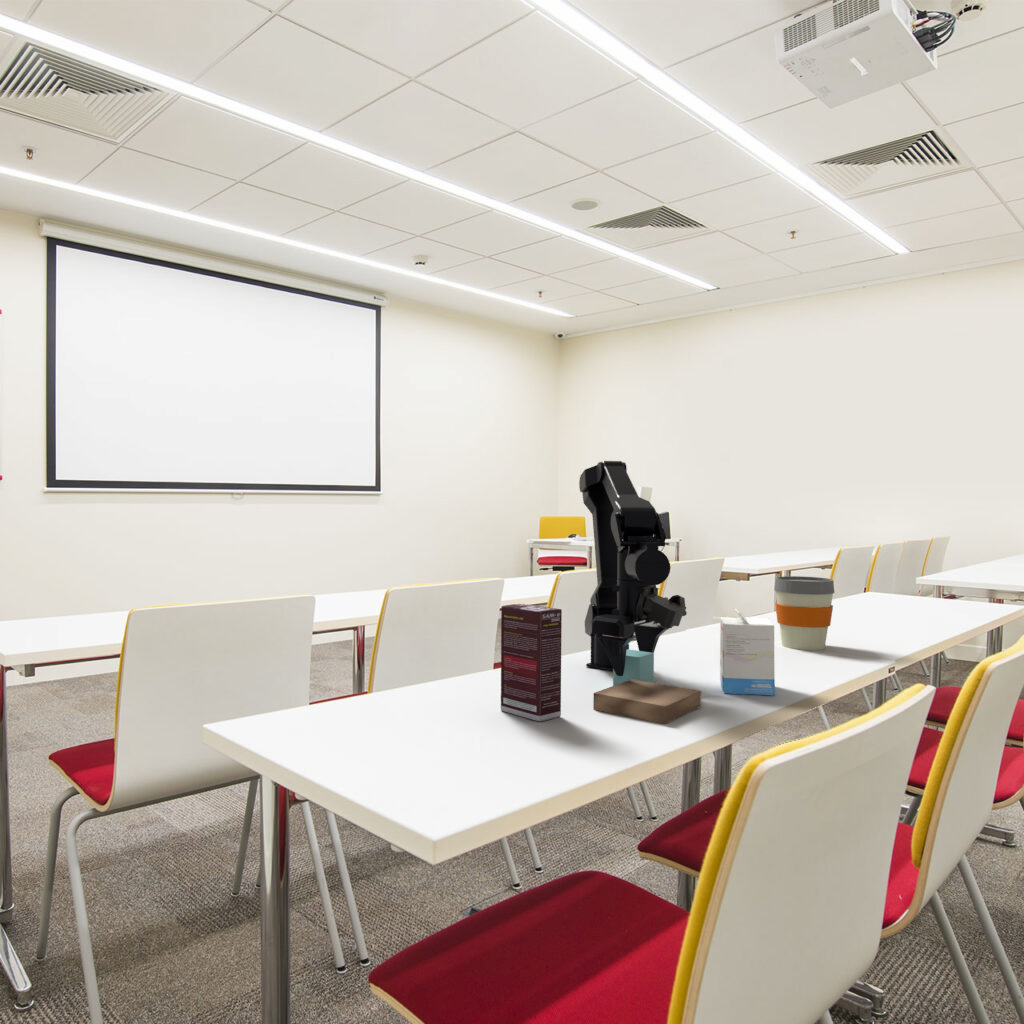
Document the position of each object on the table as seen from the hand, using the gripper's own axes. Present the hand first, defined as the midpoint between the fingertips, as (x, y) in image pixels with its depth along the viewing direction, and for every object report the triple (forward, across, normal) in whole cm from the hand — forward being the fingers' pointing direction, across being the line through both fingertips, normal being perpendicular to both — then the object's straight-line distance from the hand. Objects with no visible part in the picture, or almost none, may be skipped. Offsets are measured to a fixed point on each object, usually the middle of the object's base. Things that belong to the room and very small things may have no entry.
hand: (633, 671), depth 130 cm
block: (+3, 0, 0) cm, 3 cm away
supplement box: (+3, -24, +4) cm, 25 cm away
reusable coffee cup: (+3, +59, -10) cm, 60 cm away
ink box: (+3, +12, -15) cm, 19 cm away
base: (+3, -10, -8) cm, 13 cm away
